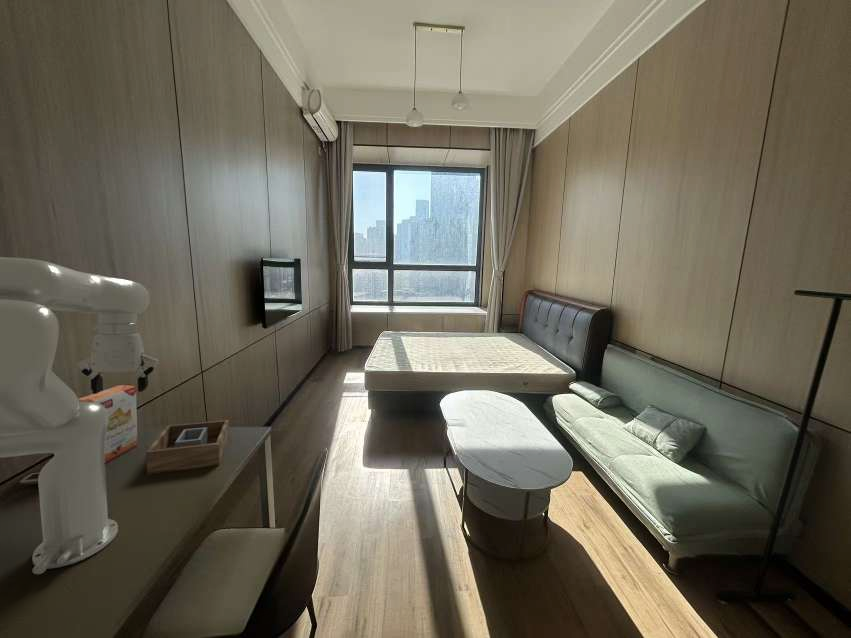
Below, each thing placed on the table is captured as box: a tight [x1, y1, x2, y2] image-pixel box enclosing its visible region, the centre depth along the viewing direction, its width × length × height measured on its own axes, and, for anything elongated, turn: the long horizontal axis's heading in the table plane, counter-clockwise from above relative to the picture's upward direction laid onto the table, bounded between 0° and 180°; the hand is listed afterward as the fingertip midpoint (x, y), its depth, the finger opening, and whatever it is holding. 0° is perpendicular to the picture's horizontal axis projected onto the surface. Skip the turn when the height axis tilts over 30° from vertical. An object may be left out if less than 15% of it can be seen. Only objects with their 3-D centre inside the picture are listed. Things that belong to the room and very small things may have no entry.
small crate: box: [175, 427, 207, 448], centre depth 106 cm, size 9×7×6 cm
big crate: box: [145, 419, 230, 476], centre depth 106 cm, size 18×18×7 cm
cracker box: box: [78, 384, 138, 464], centre depth 102 cm, size 14×6×21 cm, turn 179°
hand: (120, 391), depth 90 cm, fingers open, 9 cm apart
